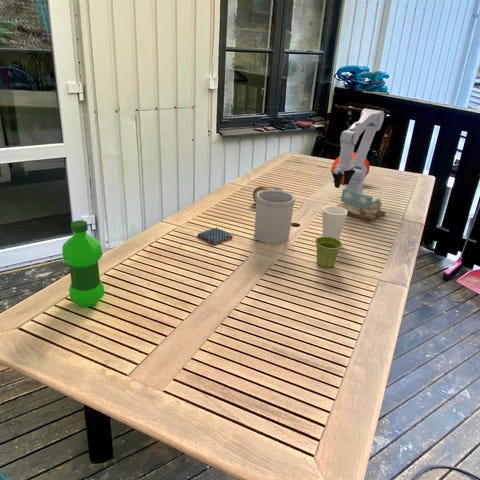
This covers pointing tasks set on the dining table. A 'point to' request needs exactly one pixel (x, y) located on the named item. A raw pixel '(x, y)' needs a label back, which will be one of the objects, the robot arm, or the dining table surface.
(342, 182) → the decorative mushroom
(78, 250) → the plastic bottle
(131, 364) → the dining table surface
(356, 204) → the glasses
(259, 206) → the utensil holder
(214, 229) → the woven mat
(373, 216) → the display stand
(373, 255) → the dining table surface
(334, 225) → the foam cup
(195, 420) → the dining table surface
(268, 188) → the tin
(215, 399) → the dining table surface
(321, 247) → the plant pot
